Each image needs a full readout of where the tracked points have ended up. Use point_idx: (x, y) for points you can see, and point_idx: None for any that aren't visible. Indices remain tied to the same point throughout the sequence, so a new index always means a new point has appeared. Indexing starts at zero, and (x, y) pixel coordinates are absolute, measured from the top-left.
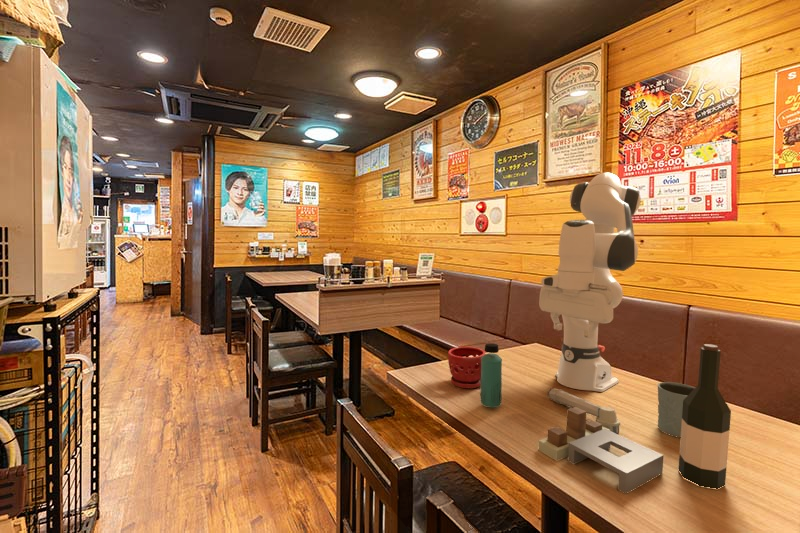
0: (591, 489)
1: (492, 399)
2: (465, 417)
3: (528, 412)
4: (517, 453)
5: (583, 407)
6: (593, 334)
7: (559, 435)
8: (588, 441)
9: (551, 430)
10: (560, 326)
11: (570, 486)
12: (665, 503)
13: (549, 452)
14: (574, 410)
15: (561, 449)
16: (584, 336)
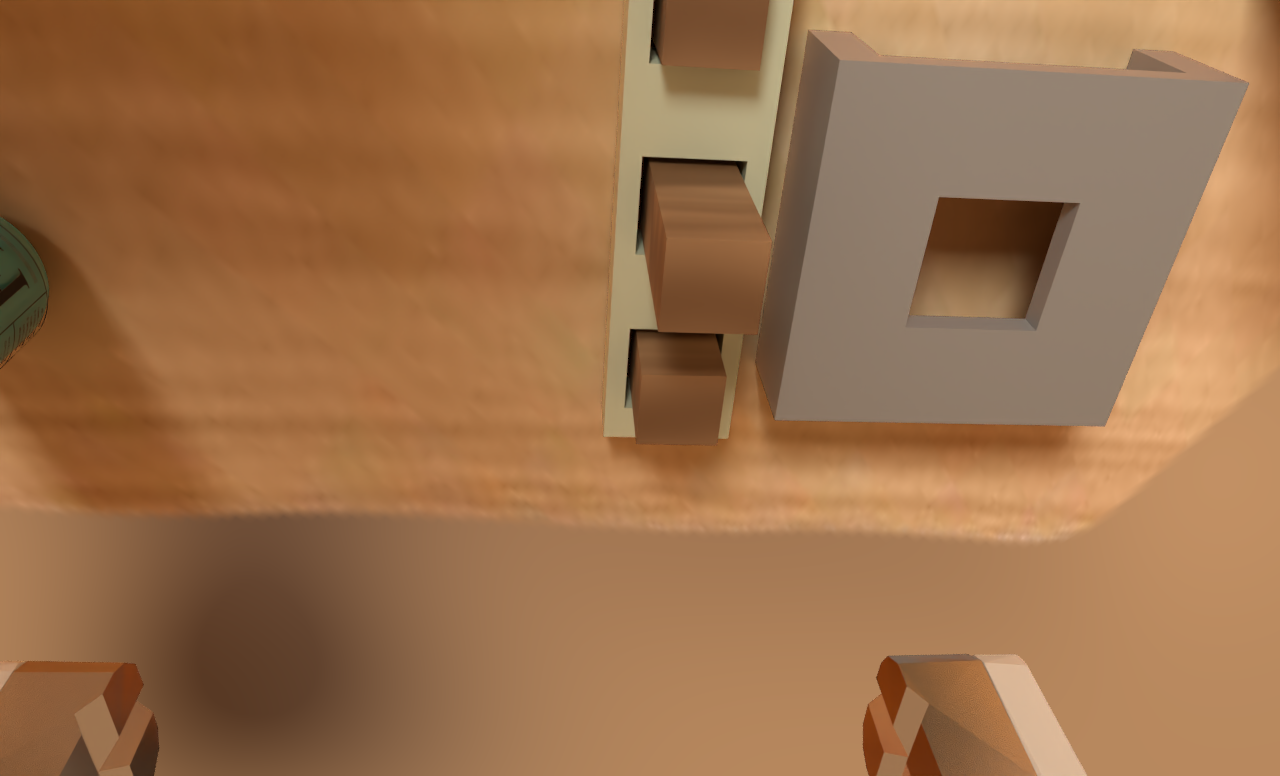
0: (935, 452)
1: (16, 345)
2: (92, 475)
3: (156, 56)
4: (564, 500)
5: None
6: (1046, 704)
7: (716, 435)
8: (843, 321)
9: (658, 438)
10: (97, 768)
11: (865, 499)
12: (1207, 291)
13: None
14: (702, 301)
15: (732, 407)
16: (866, 746)
